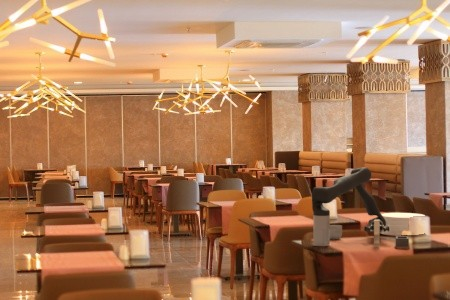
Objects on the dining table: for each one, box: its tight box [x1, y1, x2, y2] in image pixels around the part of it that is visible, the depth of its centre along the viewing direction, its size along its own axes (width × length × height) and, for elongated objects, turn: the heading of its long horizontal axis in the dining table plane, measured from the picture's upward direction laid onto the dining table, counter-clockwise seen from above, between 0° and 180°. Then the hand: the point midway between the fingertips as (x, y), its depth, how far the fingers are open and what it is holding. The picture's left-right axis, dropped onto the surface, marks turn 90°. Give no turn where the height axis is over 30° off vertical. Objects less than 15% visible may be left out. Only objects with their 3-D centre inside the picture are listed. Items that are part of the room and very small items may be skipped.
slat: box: [373, 220, 381, 248], centre depth 511 cm, size 5×3×15 cm, turn 170°
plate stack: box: [380, 212, 426, 237], centre depth 571 cm, size 28×28×12 cm
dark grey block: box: [394, 236, 411, 250], centre depth 508 cm, size 10×8×6 cm
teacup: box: [330, 224, 343, 240], centre depth 545 cm, size 14×11×8 cm
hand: (376, 229), depth 520 cm, fingers open, 8 cm apart
